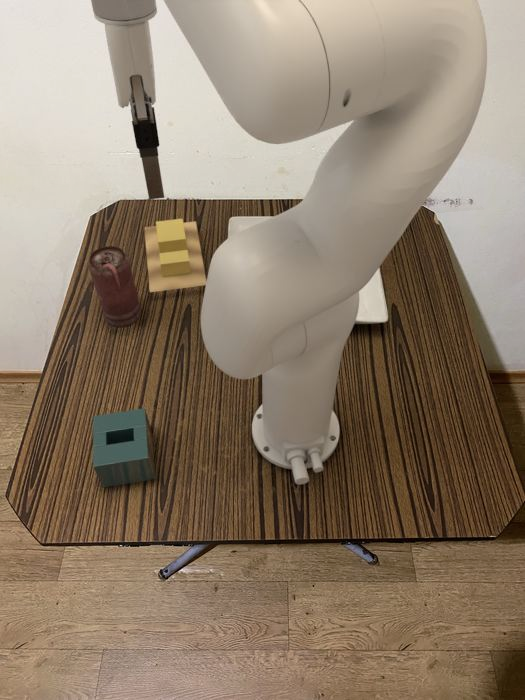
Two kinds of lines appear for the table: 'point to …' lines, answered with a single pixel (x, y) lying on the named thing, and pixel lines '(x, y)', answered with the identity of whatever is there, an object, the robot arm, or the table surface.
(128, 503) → the table surface
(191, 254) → the butter board
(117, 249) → the can
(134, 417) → the stand
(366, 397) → the table surface
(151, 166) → the knife
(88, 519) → the table surface
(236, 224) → the square plate
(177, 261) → the block
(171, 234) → the butter block
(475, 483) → the table surface
